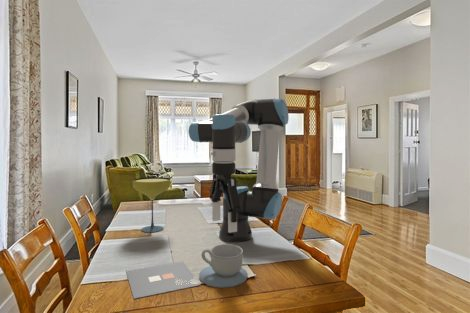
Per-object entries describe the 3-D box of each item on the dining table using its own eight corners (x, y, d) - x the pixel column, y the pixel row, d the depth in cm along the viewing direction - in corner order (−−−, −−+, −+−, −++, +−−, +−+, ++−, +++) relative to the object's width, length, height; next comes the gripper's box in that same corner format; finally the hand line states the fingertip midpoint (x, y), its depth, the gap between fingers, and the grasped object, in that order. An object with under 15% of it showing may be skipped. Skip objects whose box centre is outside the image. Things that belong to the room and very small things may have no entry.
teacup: (246, 268, 108) (247, 246, 107) (236, 282, 97) (236, 257, 97) (209, 263, 112) (209, 241, 112) (196, 275, 102) (196, 251, 102)
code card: (126, 271, 107) (126, 270, 107) (182, 261, 115) (182, 261, 115) (133, 299, 89) (133, 298, 89) (200, 285, 97) (200, 284, 97)
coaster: (192, 270, 107) (192, 268, 107) (234, 263, 114) (234, 261, 114) (209, 292, 93) (209, 289, 93) (255, 281, 100) (255, 279, 100)
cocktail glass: (166, 235, 146) (165, 182, 144) (127, 234, 146) (127, 182, 144) (174, 224, 164) (174, 177, 162) (140, 224, 164) (139, 176, 162)
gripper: (200, 159, 111) (200, 217, 113) (228, 166, 88) (229, 239, 90) (219, 158, 114) (220, 215, 116) (252, 165, 91) (251, 235, 93)
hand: (224, 225), depth 103 cm, fingers open, 13 cm apart
